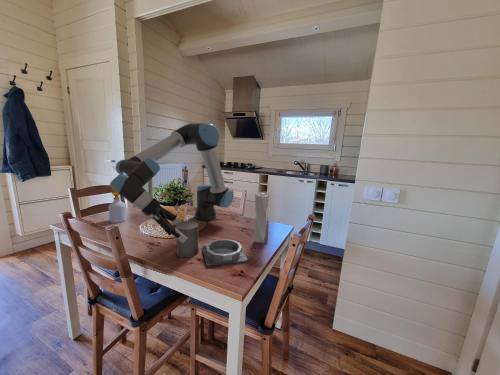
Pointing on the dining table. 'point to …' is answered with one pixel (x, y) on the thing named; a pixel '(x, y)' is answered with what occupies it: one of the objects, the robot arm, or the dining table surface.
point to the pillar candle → (188, 239)
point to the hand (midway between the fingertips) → (184, 234)
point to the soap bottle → (117, 209)
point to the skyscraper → (261, 218)
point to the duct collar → (223, 253)
